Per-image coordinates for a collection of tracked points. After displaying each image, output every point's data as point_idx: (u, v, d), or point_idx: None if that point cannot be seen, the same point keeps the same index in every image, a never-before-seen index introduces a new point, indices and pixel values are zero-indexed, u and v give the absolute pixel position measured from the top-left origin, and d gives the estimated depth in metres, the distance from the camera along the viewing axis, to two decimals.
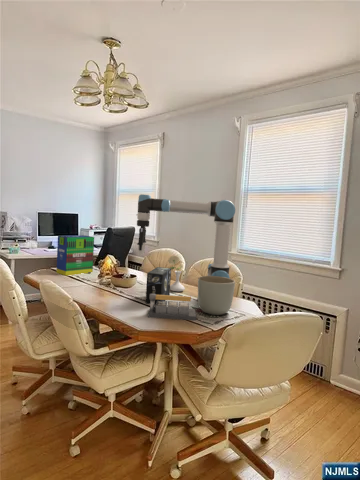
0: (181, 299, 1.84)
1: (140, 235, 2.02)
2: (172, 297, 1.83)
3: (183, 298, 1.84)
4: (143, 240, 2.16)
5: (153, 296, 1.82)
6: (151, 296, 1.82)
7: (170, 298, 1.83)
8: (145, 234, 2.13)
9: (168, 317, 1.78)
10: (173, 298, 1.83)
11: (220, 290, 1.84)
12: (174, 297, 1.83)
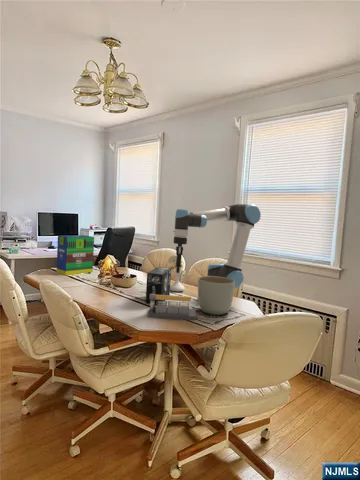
0: (181, 299, 1.84)
1: (178, 257, 1.89)
2: (172, 297, 1.83)
3: (183, 298, 1.84)
4: None
5: (153, 296, 1.82)
6: (151, 296, 1.82)
7: (170, 298, 1.83)
8: None
9: (168, 317, 1.78)
10: (173, 298, 1.83)
11: (220, 290, 1.84)
12: (174, 297, 1.83)
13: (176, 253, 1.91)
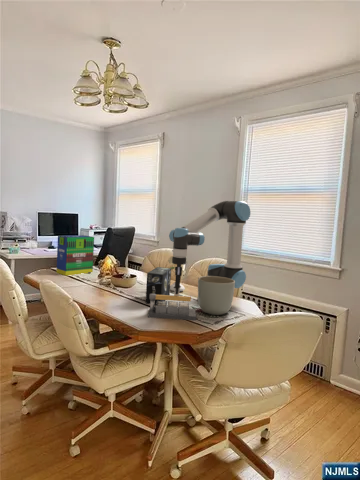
0: (181, 299, 1.84)
1: (177, 279, 1.80)
2: (172, 297, 1.83)
3: (183, 298, 1.84)
4: None
5: (153, 296, 1.82)
6: (151, 296, 1.82)
7: (170, 298, 1.83)
8: None
9: (168, 317, 1.78)
10: (173, 298, 1.83)
11: (220, 290, 1.84)
12: (174, 297, 1.83)
13: (175, 274, 1.83)
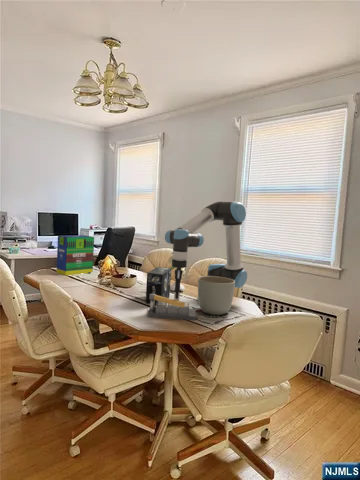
0: (174, 303, 1.74)
1: (177, 283, 1.72)
2: (167, 300, 1.77)
3: (176, 302, 1.74)
4: None
5: (151, 296, 1.82)
6: (150, 296, 1.83)
7: (165, 300, 1.78)
8: None
9: (168, 317, 1.78)
10: (167, 301, 1.77)
11: (220, 290, 1.84)
12: (168, 300, 1.76)
13: (175, 277, 1.74)
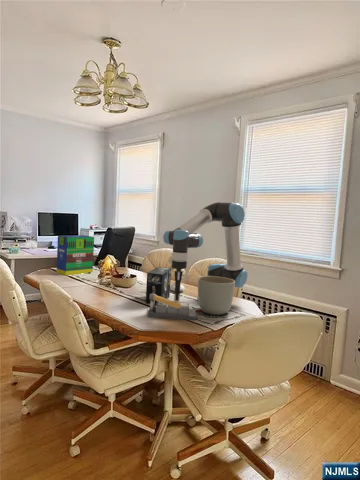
0: (171, 304, 1.72)
1: (177, 284, 1.69)
2: (164, 300, 1.76)
3: (172, 303, 1.72)
4: None
5: (151, 296, 1.83)
6: None
7: (163, 301, 1.77)
8: None
9: (168, 317, 1.78)
10: (165, 301, 1.76)
11: (220, 290, 1.84)
12: (166, 301, 1.75)
13: (175, 279, 1.71)
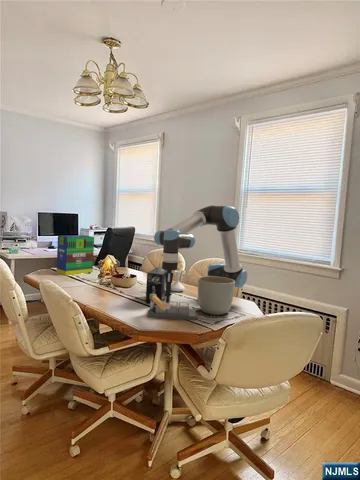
0: (159, 305, 1.69)
1: (167, 286, 1.63)
2: (156, 301, 1.74)
3: (160, 304, 1.68)
4: None
5: (150, 295, 1.83)
6: None
7: (156, 301, 1.75)
8: None
9: (168, 317, 1.78)
10: (157, 302, 1.73)
11: (220, 290, 1.84)
12: (157, 301, 1.73)
13: (165, 280, 1.65)
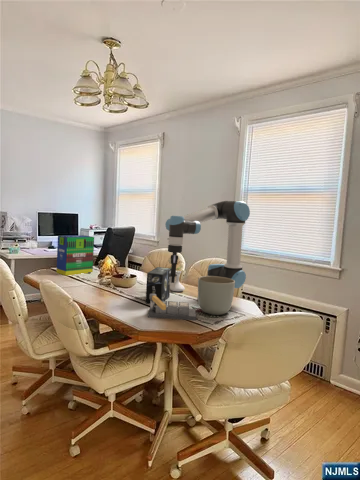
0: (159, 305, 1.69)
1: (173, 267, 1.78)
2: (156, 301, 1.74)
3: (160, 304, 1.68)
4: None
5: (150, 295, 1.83)
6: None
7: (156, 301, 1.75)
8: None
9: (168, 317, 1.78)
10: (157, 302, 1.73)
11: (220, 290, 1.84)
12: (157, 301, 1.73)
13: (171, 262, 1.81)
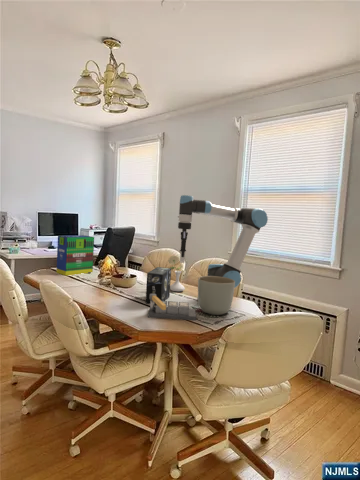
0: (159, 305, 1.69)
1: (183, 242, 1.94)
2: (156, 301, 1.74)
3: (160, 304, 1.68)
4: None
5: (150, 295, 1.83)
6: None
7: (156, 301, 1.75)
8: None
9: (168, 317, 1.78)
10: (157, 302, 1.73)
11: (220, 290, 1.84)
12: (157, 301, 1.73)
13: (181, 238, 1.97)
